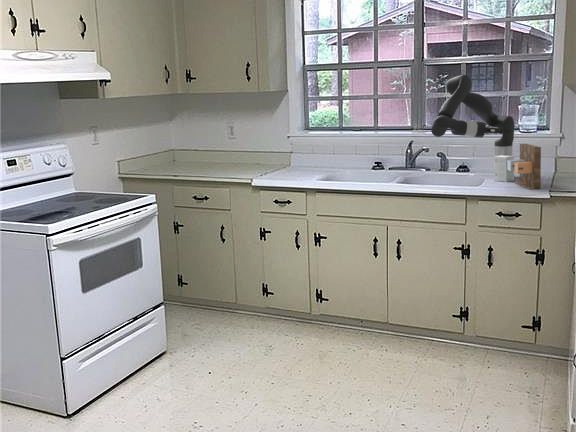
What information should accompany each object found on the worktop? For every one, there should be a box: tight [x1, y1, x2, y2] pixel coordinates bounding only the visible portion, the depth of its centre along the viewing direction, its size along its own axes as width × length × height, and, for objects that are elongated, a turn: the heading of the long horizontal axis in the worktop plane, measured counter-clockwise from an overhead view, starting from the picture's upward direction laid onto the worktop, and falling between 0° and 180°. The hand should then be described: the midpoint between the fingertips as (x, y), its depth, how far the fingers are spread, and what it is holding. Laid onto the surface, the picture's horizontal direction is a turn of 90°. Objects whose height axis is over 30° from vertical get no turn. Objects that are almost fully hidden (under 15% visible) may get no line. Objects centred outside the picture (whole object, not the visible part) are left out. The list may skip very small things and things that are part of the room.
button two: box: [514, 161, 533, 175], centre depth 319 cm, size 5×9×5 cm, turn 89°
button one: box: [507, 158, 525, 171], centre depth 329 cm, size 5×9×5 cm, turn 89°
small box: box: [493, 155, 515, 183], centre depth 346 cm, size 8×6×13 cm
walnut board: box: [514, 143, 542, 190], centre depth 324 cm, size 21×6×20 cm, turn 179°
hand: (506, 131), depth 314 cm, fingers open, 8 cm apart
